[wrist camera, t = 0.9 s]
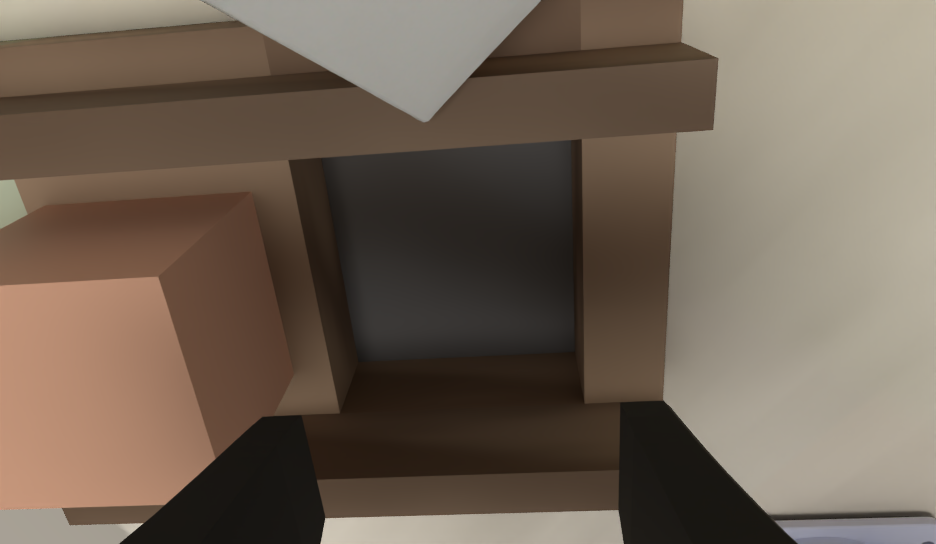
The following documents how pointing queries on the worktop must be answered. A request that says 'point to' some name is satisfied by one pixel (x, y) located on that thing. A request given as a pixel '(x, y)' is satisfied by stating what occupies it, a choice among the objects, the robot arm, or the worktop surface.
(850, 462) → the worktop surface
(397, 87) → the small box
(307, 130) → the trap channel
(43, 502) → the block
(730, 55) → the worktop surface
